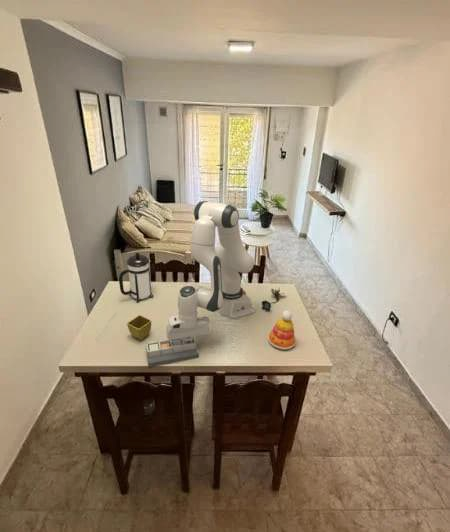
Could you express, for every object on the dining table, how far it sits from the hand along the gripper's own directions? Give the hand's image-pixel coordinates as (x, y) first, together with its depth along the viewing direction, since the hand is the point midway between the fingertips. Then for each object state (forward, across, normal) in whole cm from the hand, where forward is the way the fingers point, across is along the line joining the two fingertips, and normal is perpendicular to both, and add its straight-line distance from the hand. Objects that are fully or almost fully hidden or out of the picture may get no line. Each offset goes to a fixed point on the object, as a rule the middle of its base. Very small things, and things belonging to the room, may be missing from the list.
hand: (188, 342), depth 148 cm
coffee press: (+4, +20, -53) cm, 57 cm away
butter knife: (+5, +38, -29) cm, 48 cm away
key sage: (+3, +16, 0) cm, 17 cm away
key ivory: (+4, 0, 0) cm, 4 cm away
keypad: (+4, +8, 0) cm, 9 cm away
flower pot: (+4, +22, -16) cm, 27 cm away
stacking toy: (+4, -47, +7) cm, 48 cm away
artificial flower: (+4, -59, -28) cm, 65 cm away
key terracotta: (+4, +11, 0) cm, 11 cm away
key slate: (+3, +5, 0) cm, 6 cm away
